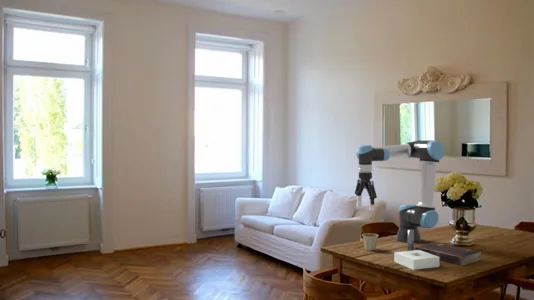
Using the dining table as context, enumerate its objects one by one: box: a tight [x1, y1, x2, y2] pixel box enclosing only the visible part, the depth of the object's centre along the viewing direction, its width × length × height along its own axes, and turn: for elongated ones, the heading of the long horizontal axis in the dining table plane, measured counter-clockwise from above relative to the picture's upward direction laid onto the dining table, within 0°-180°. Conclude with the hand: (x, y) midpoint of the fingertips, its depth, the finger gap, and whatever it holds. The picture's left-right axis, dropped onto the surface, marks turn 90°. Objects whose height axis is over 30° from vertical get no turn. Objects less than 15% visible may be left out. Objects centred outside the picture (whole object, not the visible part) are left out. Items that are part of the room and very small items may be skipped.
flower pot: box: [361, 232, 379, 251], centre depth 276 cm, size 9×9×9 cm
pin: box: [406, 229, 415, 251], centre depth 265 cm, size 3×3×14 cm
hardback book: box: [414, 241, 482, 266], centre depth 259 cm, size 29×19×5 cm, turn 36°
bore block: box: [393, 250, 440, 271], centre depth 244 cm, size 16×16×5 cm
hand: (365, 208), depth 270 cm, fingers open, 13 cm apart
